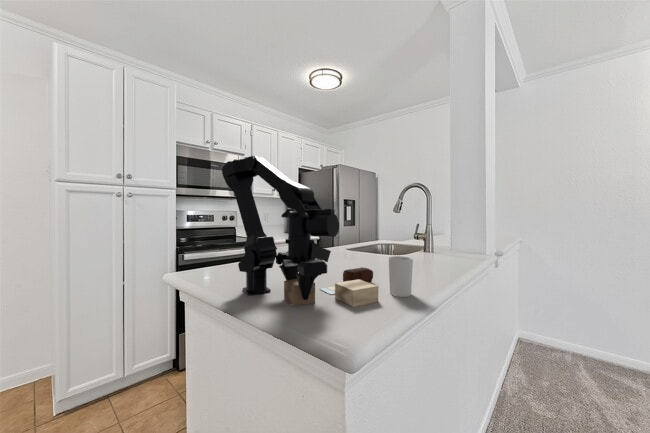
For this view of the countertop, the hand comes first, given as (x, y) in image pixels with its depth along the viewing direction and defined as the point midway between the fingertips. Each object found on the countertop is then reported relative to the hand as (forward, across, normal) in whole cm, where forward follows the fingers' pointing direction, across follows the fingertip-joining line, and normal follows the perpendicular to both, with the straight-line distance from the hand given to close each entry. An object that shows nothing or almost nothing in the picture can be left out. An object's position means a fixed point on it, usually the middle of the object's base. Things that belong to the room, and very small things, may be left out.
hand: (299, 295), depth 70 cm
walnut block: (+1, 0, 0) cm, 1 cm away
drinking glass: (+1, -9, -27) cm, 28 cm away
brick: (+1, +5, -23) cm, 24 cm away
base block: (+1, -7, -13) cm, 15 cm away
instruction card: (+1, +3, -14) cm, 14 cm away
